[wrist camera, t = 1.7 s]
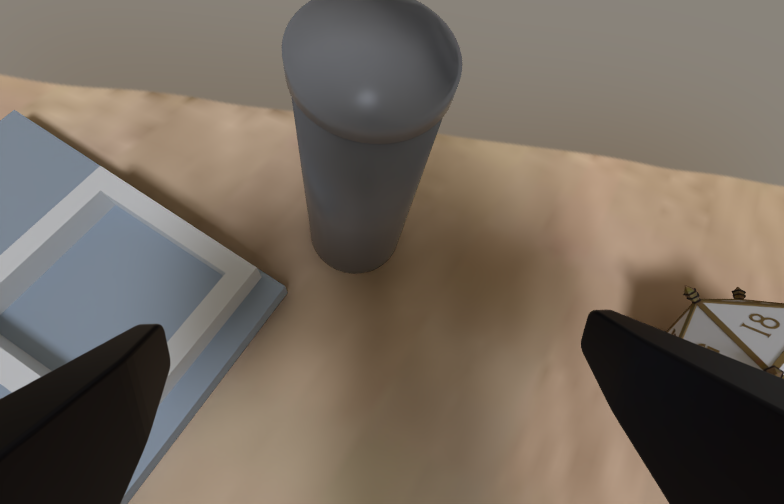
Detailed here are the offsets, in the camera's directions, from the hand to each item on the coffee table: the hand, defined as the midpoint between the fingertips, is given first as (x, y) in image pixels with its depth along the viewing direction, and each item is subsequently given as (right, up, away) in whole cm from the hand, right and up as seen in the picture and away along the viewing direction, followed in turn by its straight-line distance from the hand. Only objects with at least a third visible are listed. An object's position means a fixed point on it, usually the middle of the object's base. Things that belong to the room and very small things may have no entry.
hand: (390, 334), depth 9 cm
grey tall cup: (-2, +3, +15) cm, 16 cm away
